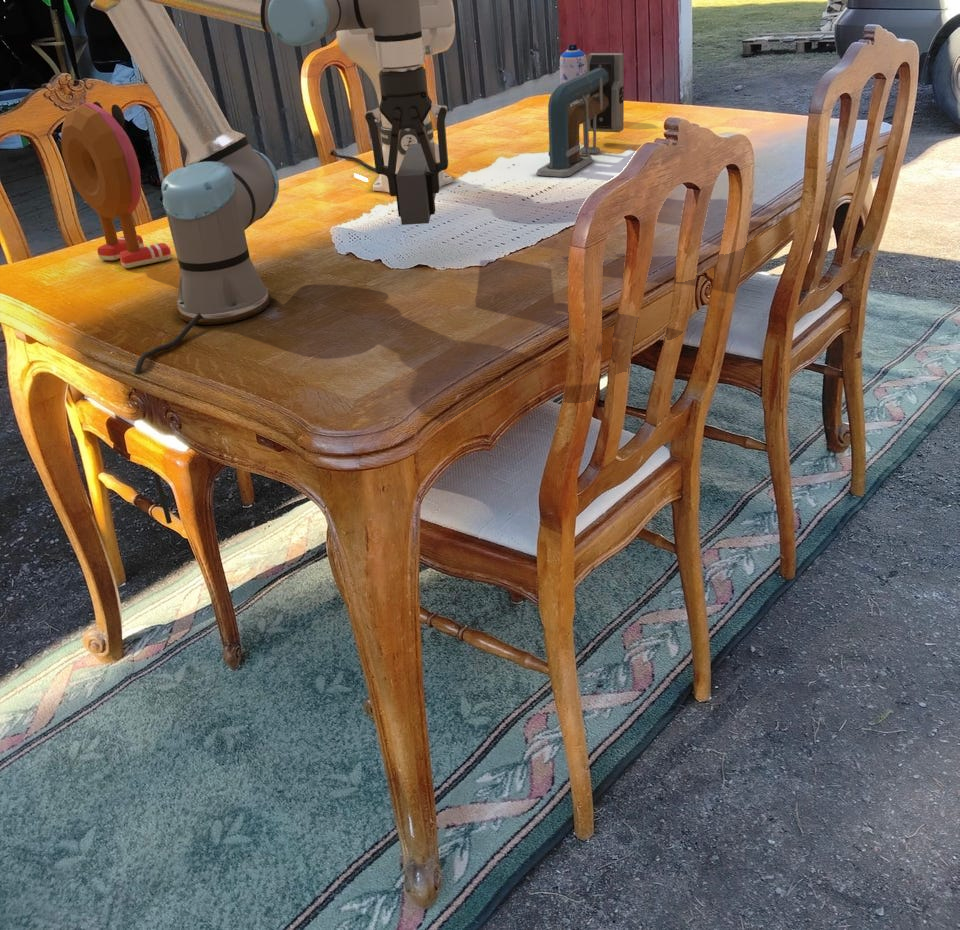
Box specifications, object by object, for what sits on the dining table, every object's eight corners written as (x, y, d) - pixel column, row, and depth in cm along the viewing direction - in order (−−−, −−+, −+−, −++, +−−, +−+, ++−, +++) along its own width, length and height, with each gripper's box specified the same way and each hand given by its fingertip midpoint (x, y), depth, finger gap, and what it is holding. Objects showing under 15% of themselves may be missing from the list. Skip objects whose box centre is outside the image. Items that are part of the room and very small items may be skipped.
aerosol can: (559, 122, 275) (557, 47, 265) (562, 117, 282) (559, 42, 272) (587, 121, 274) (585, 45, 263) (589, 115, 280) (587, 41, 270)
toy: (184, 259, 191) (146, 100, 176) (138, 275, 185) (94, 111, 170) (129, 242, 204) (90, 93, 189) (85, 256, 198) (40, 102, 183)
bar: (428, 223, 161) (424, 174, 157) (401, 225, 162) (395, 176, 157) (438, 186, 181) (434, 142, 177) (413, 188, 182) (409, 144, 177)
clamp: (567, 177, 223) (565, 79, 213) (533, 175, 227) (529, 78, 216) (623, 141, 249) (623, 53, 238) (592, 140, 253) (590, 53, 242)
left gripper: (458, 59, 156) (469, 203, 168) (349, 67, 157) (368, 210, 169) (455, 67, 149) (467, 216, 161) (342, 75, 150) (363, 223, 162)
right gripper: (453, -30, 180) (459, 50, 187) (345, -21, 181) (355, 58, 188) (451, -28, 174) (458, 54, 181) (339, -19, 176) (350, 63, 183)
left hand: (417, 212), depth 165 cm, fingers closed on bar, 5 cm apart
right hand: (405, 56), depth 185 cm, fingers open, 8 cm apart
